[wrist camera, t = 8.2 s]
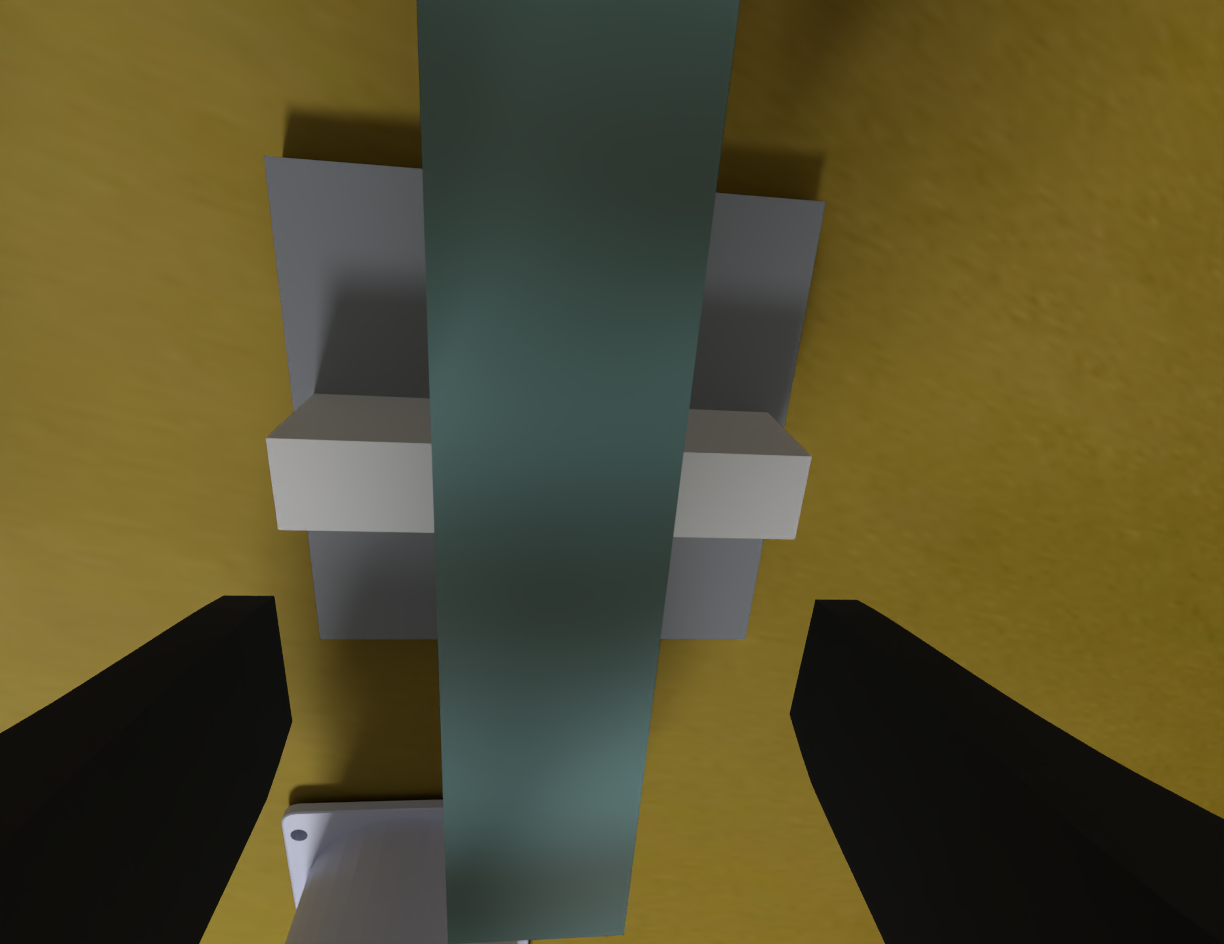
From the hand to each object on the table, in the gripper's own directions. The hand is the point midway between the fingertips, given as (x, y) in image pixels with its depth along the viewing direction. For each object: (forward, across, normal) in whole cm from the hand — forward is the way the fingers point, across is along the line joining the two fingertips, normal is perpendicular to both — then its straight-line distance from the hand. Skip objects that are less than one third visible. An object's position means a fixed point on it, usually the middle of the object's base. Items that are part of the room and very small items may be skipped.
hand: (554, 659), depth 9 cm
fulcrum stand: (+9, 0, 0) cm, 9 cm away
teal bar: (+5, 0, 0) cm, 5 cm away
